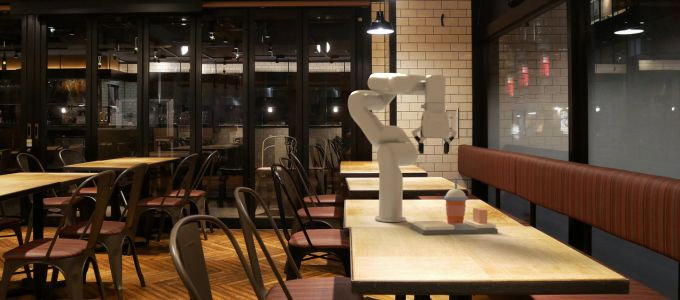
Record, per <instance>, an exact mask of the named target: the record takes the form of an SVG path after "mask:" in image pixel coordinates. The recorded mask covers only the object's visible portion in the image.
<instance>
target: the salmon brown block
mask: <svg viewBox="0 0 680 300" xmlns="http://www.w3.org/2000/svg"><path fill="white" fill-rule="evenodd" d="M464 223H465V224H468V225H470V226H473V227H476V228H496V229H497V225H496V224H495V223H492V222H489V221H488V209H487V208H482V207H473V208H472V219H466V220H464Z"/></svg>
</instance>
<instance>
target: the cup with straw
mask: <svg viewBox="0 0 680 300" xmlns="http://www.w3.org/2000/svg"><path fill="white" fill-rule="evenodd" d="M443 199H444V200H445V211H446V219H447V220H446V221H447V222H446V223H448V224H451V223H464V221H465V220H464V218H465V213H466V201H468V196H466V193H465V191H463V190H462V189H460V188H458V177H455V178H454V188H451V189H449V190H448V191H447V193H446V194H445V195H444V197H443Z"/></svg>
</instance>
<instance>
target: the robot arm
mask: <svg viewBox="0 0 680 300" xmlns="http://www.w3.org/2000/svg"><path fill="white" fill-rule="evenodd" d="M446 85H447V81H446V76H445V75H442V74H428V75H419V74H409V73H408V74H404V73H402V74H401V73H399V72H375V73H372V74H371V75H370V76H369V78H368V80H367V86H368V88H369V90H368V89H367V90H366V89H364V90H363V89H362V90H361V89H359V90H355V91H353V92H351V94H350V95H349V96H348V99H347V107H348V111H349V115H350V117H351V118H352V119H353V121H354V122H355V123H356V124H357V125H358V127H359V128H360V129H361V131H362V133H364V135H365V137H366V138H367V140H368V141H369V143H370V144H371V145H372V147H374V148H377V152H376V157H377V159H376V160H377V164H378V173H379V177H378V179H379V182H378V183H379V184H378V185H379V186H378V187H379V188H378V189H379V190H378V215H377V216H375V217H374V221H377V222H383V223H402V222H406V220H407V218H406V216H403V194H404V193H403V192H404V190H403V188H404V187H403V186H404V185H403V184H404V179H403V173H402V171H401V169H400V167H407V166H412V165H414V164H416V162H417V160H418V156H419V154H421V155H423V154H424V153H425V143H424V141H425V139H442V141H444V143H443V154H444V155H449V152H450V145H451V143H452V142H453V140H455V137H456V135H457V131H455V130H453V129H452V128H450V122H449V114H448V112H447V111H446ZM399 94H401V95H402V94H403V95H412V96H413V95H415V96H424V104H421V105H420V108H421V109H423V110H424V111H423V112H422V114H421V118H420V119H421V120H420V125H419V127H417V128H415V129H413V130H412V131H411V134H412V136H413V138H414V140H415V141H416V142H417V143H418V144H417V147H416V145H415V144H414V143H413V141H412V140H411V139H410V137H409V136H408V135H407V133H406V132H405V131H404V130H403V128H401V127H399V126H397V125H389V124H388V125H386V124H383V123H382V121H381V120H380V119H379V117H378V116H377V115H375V113H373V112H371V111H376V112H377V111H379V112H380V111H383V110H384V109H386V108H387V107H388V106H389V104H390V103H391V102H392V101H393V99H394V98H396V96H397V95H399ZM418 133H419V135H420V137H419V135H418ZM450 134H451V135H450ZM417 148H418V149H417ZM418 152H419V154H418Z"/></svg>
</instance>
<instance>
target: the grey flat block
mask: <svg viewBox="0 0 680 300" xmlns="http://www.w3.org/2000/svg"><path fill="white" fill-rule="evenodd" d="M409 228H410V229H411V230H413V231H415V232H417V233H419V234H420V235H422V236H424V235H425V236H428V235H432V236H433V235H434V236H435V235H437V236H438V235H473V234H474V235H477V234H478V235H479V234H480V235H481V234H483V235H484V234H485V233H489V234H498V233H499V232H498V228H497V227H496V228H476V227H473V226H470V225H468V224H465V222H463V223H451V224H450V223H448V222H445V221H443V220H425V221H424V220H423V221H422V220H417V221H416V220H415V221H413V223H410V227H409Z"/></svg>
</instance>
